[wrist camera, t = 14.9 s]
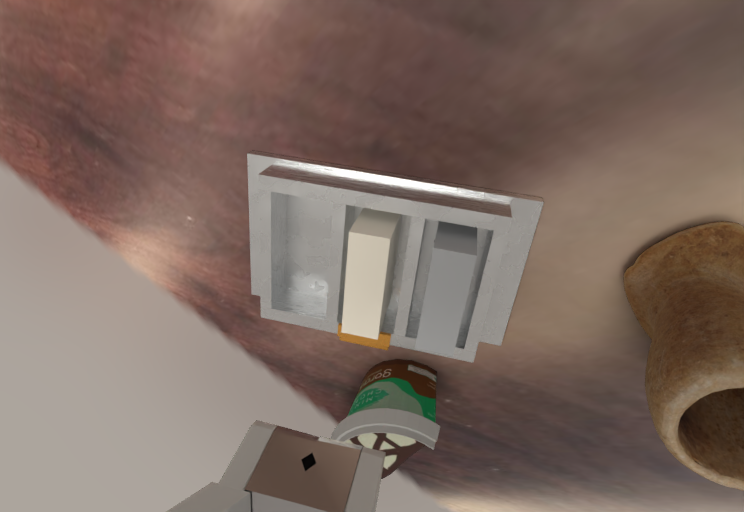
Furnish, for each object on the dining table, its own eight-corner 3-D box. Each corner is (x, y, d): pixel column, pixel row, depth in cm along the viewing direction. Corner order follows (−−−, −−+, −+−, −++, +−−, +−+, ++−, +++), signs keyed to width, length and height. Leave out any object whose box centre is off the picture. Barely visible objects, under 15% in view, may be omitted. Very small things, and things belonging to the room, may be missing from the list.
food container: (397, 327, 44) (376, 402, 36) (446, 363, 45) (438, 446, 36) (329, 393, 50) (297, 472, 42) (374, 424, 51) (352, 508, 42)
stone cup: (577, 272, 38) (628, 405, 25) (735, 193, 33) (903, 310, 20) (662, 395, 42) (745, 567, 29) (816, 342, 37) (1002, 522, 24)
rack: (542, 197, 36) (550, 221, 32) (498, 344, 43) (500, 379, 39) (252, 150, 39) (225, 166, 35) (256, 293, 46) (233, 321, 42)
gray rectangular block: (477, 221, 37) (476, 255, 31) (456, 313, 41) (452, 356, 36) (439, 215, 37) (433, 247, 32) (422, 306, 41) (414, 348, 36)
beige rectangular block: (402, 208, 37) (390, 238, 32) (390, 299, 42) (377, 339, 37) (367, 201, 38) (348, 231, 33) (358, 293, 42) (341, 332, 37)
